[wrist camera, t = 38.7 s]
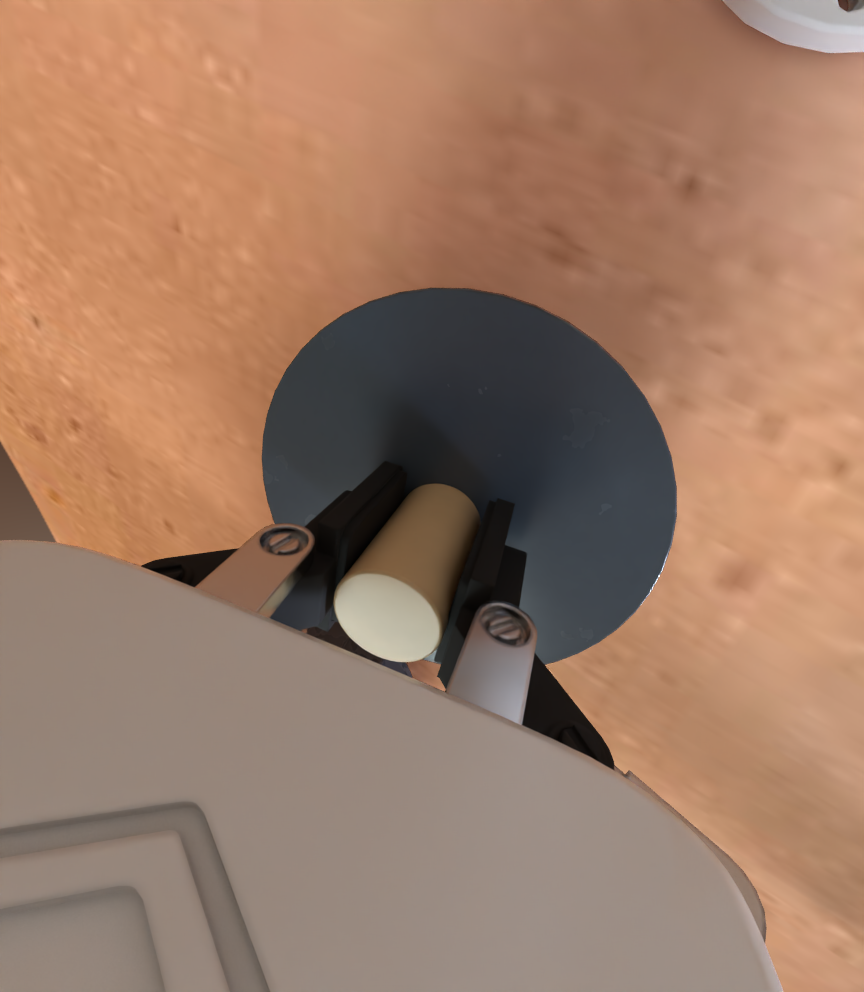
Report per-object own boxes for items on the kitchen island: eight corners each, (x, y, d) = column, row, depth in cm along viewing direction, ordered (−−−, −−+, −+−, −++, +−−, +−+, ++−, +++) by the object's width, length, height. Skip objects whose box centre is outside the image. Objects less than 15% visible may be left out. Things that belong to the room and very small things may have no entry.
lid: (286, 239, 11) (77, 198, 6) (773, 360, 9) (998, 432, 4) (279, 578, 18) (172, 685, 13) (567, 692, 16) (568, 869, 11)
